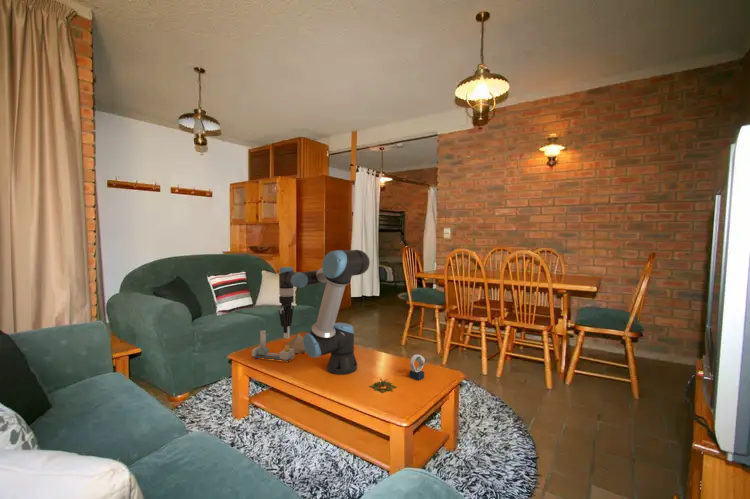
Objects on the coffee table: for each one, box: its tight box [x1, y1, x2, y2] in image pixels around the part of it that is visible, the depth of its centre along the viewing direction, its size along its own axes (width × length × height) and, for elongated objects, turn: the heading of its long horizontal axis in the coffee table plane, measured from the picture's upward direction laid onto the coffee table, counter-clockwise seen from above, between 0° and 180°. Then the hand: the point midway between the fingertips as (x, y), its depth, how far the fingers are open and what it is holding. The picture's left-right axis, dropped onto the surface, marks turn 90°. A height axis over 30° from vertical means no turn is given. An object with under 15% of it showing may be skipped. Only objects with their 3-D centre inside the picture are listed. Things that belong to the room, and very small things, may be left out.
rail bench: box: [251, 345, 295, 362], centre depth 185 cm, size 22×7×5 cm, turn 75°
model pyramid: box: [282, 333, 307, 355], centre depth 200 cm, size 17×17×10 cm
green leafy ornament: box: [369, 377, 397, 394], centre depth 150 cm, size 12×12×5 cm
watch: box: [408, 353, 426, 382], centre depth 159 cm, size 6×8×11 cm
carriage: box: [257, 329, 270, 355], centre depth 187 cm, size 4×5×13 cm
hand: (286, 338), depth 183 cm, fingers closed
